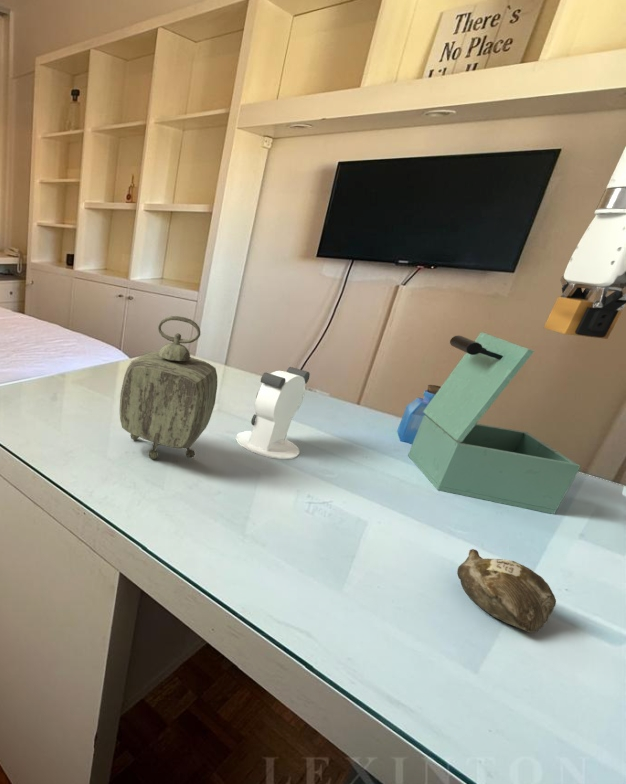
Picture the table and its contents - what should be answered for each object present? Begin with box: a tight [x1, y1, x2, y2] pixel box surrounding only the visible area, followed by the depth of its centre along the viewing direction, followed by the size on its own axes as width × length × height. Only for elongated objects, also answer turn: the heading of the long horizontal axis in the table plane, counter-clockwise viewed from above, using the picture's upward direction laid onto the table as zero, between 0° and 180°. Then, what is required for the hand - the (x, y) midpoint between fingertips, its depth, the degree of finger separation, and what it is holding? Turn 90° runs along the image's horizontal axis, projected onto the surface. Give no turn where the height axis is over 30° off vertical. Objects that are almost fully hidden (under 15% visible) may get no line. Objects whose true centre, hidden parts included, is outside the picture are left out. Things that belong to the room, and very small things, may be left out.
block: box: [543, 296, 625, 340], centre depth 69 cm, size 5×5×5 cm
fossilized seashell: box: [456, 548, 557, 633], centre depth 52 cm, size 8×7×10 cm
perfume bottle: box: [396, 384, 442, 445], centre depth 95 cm, size 6×6×12 cm
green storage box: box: [407, 415, 582, 515], centre depth 79 cm, size 16×14×9 cm
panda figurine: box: [235, 366, 311, 460], centre depth 87 cm, size 12×11×15 cm
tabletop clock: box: [119, 315, 218, 460], centre depth 78 cm, size 14×9×25 cm, turn 57°
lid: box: [423, 331, 535, 442], centre depth 77 cm, size 16×14×6 cm
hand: (575, 330), depth 70 cm, fingers closed on block, 5 cm apart
